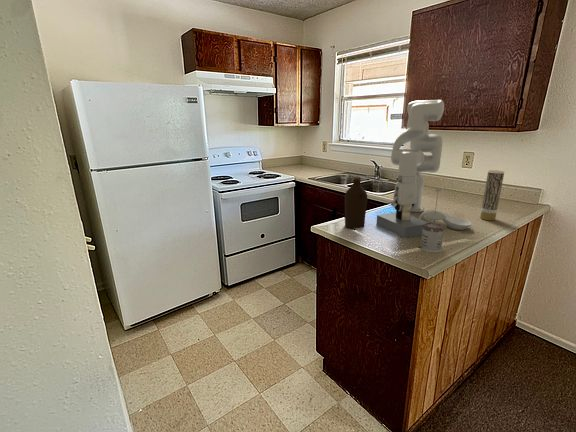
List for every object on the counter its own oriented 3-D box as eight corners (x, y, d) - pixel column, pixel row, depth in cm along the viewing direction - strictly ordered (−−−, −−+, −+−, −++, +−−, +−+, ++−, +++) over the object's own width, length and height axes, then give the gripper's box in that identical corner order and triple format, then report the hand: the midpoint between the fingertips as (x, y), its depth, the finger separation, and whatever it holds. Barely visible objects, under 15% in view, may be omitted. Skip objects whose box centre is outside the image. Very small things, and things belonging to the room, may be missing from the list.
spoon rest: (471, 226, 152) (473, 212, 150) (470, 234, 143) (472, 219, 140) (419, 219, 164) (421, 206, 162) (415, 225, 155) (417, 212, 152)
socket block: (376, 226, 154) (377, 215, 152) (399, 222, 158) (400, 211, 157) (404, 240, 136) (405, 227, 134) (429, 235, 140) (430, 223, 139)
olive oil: (369, 226, 154) (373, 176, 146) (357, 232, 147) (360, 179, 139) (351, 222, 161) (354, 174, 154) (339, 226, 154) (341, 177, 147)
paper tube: (482, 216, 167) (490, 169, 159) (496, 218, 162) (505, 171, 155) (478, 219, 162) (486, 171, 155) (493, 221, 158) (502, 172, 150)
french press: (418, 250, 125) (425, 190, 118) (417, 240, 135) (424, 184, 128) (445, 253, 122) (454, 191, 114) (442, 243, 132) (450, 185, 125)
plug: (395, 220, 147) (397, 197, 143) (403, 219, 148) (405, 196, 145) (401, 222, 143) (404, 199, 140) (409, 221, 144) (411, 198, 141)
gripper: (396, 182, 134) (393, 222, 139) (427, 179, 139) (422, 218, 145) (385, 179, 140) (382, 218, 146) (415, 176, 146) (411, 213, 151)
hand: (402, 217), depth 145 cm, fingers closed on plug, 4 cm apart
